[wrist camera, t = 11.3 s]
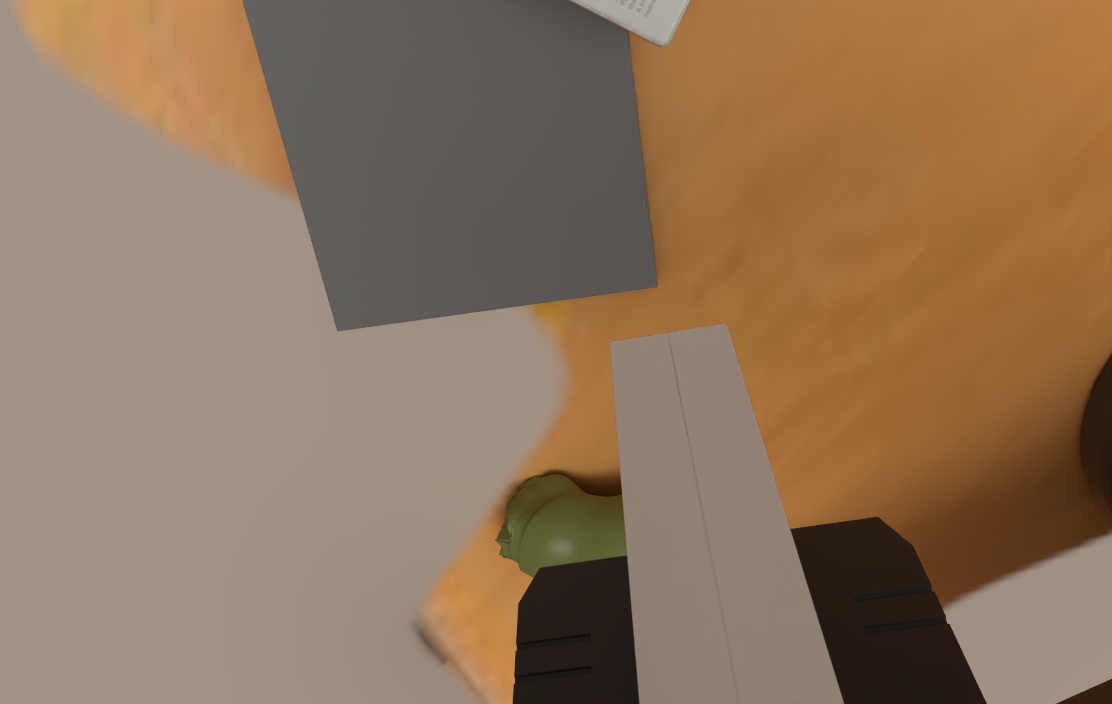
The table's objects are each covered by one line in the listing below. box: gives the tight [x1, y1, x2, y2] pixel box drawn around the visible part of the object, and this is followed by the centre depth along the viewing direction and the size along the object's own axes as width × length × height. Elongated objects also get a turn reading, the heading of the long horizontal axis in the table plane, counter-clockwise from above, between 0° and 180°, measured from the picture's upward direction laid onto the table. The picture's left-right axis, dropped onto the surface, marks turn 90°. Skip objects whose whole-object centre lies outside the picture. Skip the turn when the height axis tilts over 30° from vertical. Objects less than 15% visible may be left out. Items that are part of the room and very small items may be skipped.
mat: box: [243, 0, 658, 331], centre depth 38 cm, size 16×13×1 cm
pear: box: [496, 474, 627, 578], centre depth 46 cm, size 6×5×10 cm
